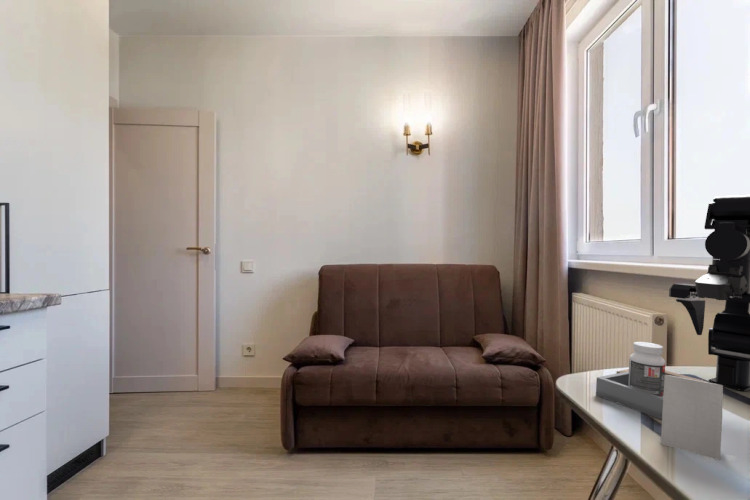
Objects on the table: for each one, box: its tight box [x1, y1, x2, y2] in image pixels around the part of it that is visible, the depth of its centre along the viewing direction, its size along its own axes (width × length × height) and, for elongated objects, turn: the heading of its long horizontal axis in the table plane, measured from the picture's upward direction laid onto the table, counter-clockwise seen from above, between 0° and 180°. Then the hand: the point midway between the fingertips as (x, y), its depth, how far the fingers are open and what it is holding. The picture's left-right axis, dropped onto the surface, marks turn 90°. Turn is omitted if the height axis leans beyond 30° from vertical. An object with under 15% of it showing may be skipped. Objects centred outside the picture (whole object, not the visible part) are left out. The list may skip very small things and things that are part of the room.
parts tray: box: [595, 371, 663, 421], centre depth 77 cm, size 12×12×4 cm
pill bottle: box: [628, 341, 666, 397], centre depth 77 cm, size 6×6×10 cm
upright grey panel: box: [660, 375, 724, 460], centre depth 60 cm, size 4×7×10 cm, turn 53°
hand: (726, 340), depth 79 cm, fingers open, 9 cm apart
